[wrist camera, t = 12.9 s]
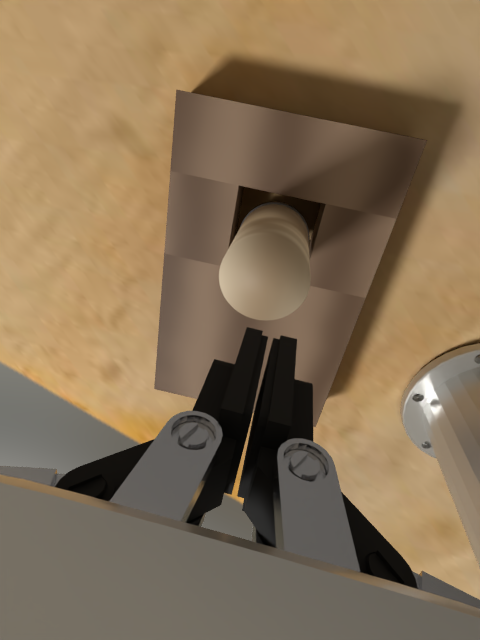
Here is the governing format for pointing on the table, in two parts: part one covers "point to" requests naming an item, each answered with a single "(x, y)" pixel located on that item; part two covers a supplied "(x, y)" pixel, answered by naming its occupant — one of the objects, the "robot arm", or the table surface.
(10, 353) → the table surface
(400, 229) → the table surface
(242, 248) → the beech leg
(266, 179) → the walnut board
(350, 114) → the table surface
